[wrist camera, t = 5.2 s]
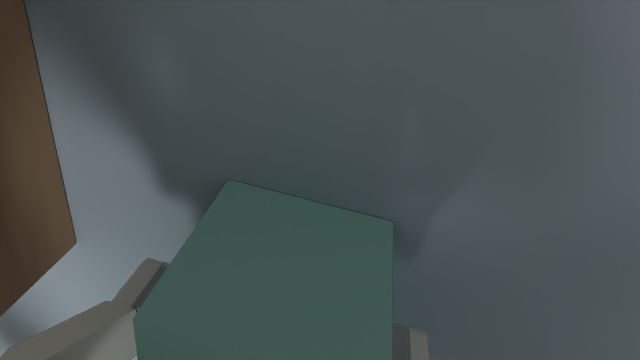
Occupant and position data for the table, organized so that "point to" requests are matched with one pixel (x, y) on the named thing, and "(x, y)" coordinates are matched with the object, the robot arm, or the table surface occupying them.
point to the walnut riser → (26, 167)
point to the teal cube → (273, 284)
